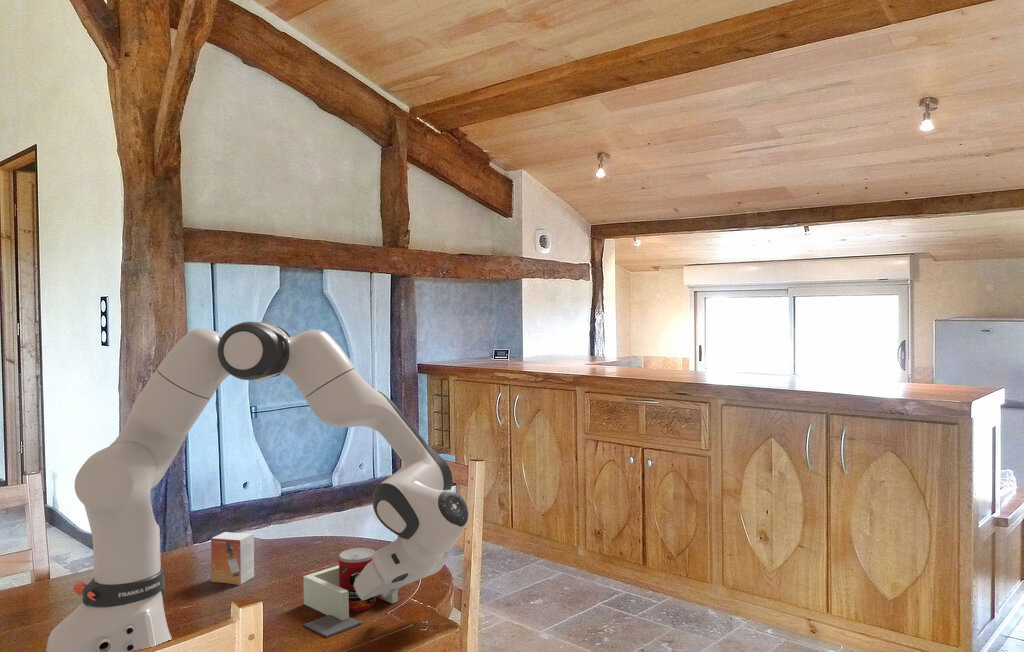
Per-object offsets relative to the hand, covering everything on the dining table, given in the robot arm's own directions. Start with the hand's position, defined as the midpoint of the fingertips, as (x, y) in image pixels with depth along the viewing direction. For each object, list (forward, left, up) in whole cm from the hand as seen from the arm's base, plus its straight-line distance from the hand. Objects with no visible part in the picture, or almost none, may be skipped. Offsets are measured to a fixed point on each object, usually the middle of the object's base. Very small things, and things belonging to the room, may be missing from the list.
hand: (386, 591), depth 148 cm
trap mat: (-9, +5, -5) cm, 12 cm away
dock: (0, +11, -5) cm, 13 cm away
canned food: (0, +10, -5) cm, 12 cm away
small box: (-10, +45, -5) cm, 47 cm away
